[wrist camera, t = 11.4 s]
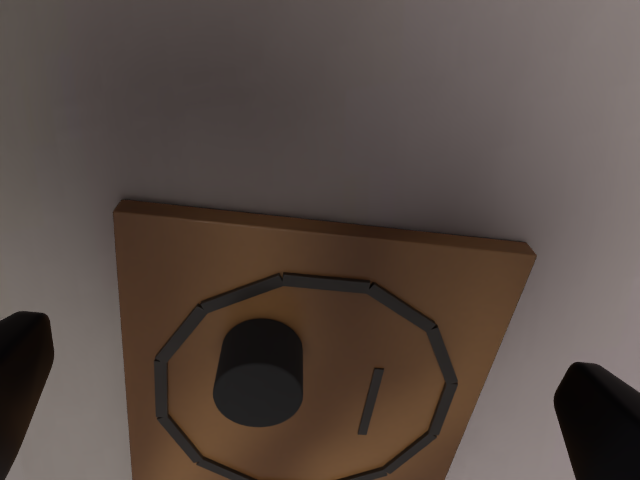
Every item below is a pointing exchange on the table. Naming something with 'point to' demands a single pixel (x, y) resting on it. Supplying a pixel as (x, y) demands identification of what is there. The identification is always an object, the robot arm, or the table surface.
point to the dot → (259, 374)
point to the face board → (308, 340)
